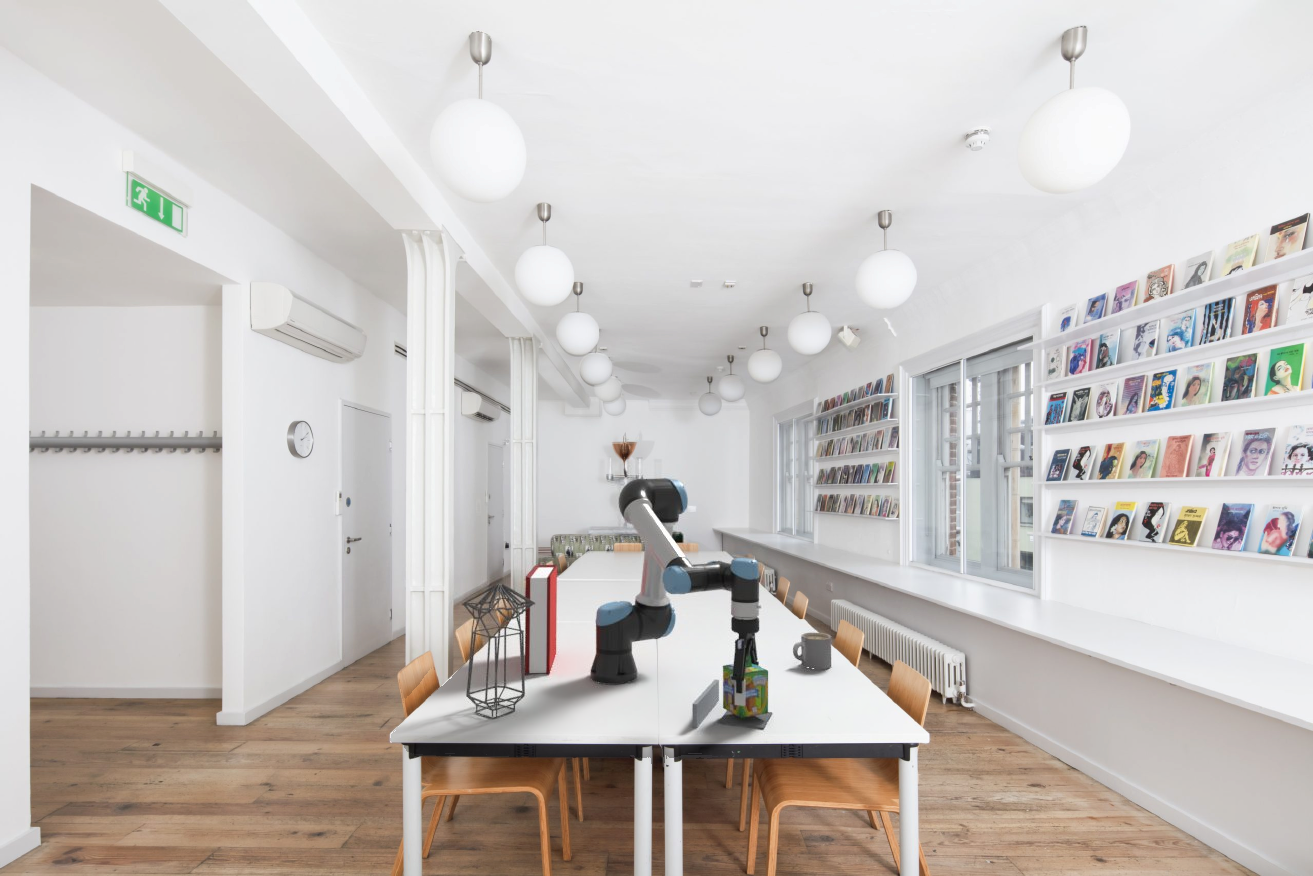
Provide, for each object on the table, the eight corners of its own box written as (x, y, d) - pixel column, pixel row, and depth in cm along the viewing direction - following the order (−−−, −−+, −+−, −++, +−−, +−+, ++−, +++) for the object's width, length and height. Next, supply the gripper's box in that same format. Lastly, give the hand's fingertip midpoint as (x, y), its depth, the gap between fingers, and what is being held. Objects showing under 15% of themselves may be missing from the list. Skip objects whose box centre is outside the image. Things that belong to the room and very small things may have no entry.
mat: (718, 723, 177) (718, 721, 178) (729, 708, 189) (729, 707, 189) (763, 729, 173) (763, 727, 173) (772, 713, 185) (772, 712, 185)
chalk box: (741, 719, 175) (740, 661, 176) (721, 708, 183) (721, 653, 184) (769, 713, 179) (769, 657, 180) (749, 703, 187) (749, 649, 188)
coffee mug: (826, 661, 236) (825, 632, 237) (835, 669, 226) (834, 639, 227) (788, 661, 236) (788, 632, 236) (796, 670, 226) (795, 639, 226)
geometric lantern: (455, 713, 185) (458, 584, 188) (502, 699, 197) (504, 578, 200) (489, 726, 175) (493, 589, 178) (537, 711, 187) (539, 583, 190)
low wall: (692, 727, 175) (692, 703, 175) (714, 700, 195) (714, 679, 196) (696, 728, 174) (696, 704, 175) (718, 701, 195) (718, 680, 195)
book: (549, 675, 220) (550, 576, 222) (524, 675, 219) (525, 576, 221) (556, 652, 247) (557, 564, 249) (534, 653, 247) (535, 565, 248)
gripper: (749, 627, 170) (749, 714, 169) (767, 609, 193) (768, 685, 192) (720, 625, 172) (720, 710, 171) (741, 607, 195) (742, 682, 194)
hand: (745, 697), depth 181 cm, fingers closed on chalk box, 12 cm apart
